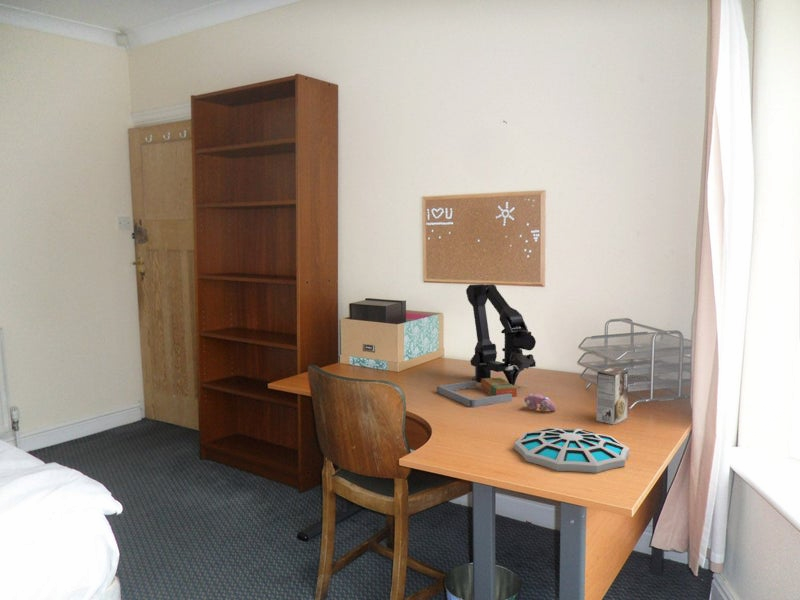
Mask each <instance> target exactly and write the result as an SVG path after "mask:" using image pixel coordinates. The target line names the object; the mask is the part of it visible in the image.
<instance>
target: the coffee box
mask: <svg viewBox="0 0 800 600" xmlns="http://www.w3.org/2000/svg"><path fill="white" fill-rule="evenodd" d="M596 378H597V382H596V383H597V384H596V386H597V387H596V421H597V422H601V423H604V422H605V424H610V425H613V426H614V425H616V424H618V423H621V422H622V421H625V420H627V419H628V400H629V399H628V396H629V395H628V392H629V370H628V369H623V368H618V367H614V366H613V367H612V366H609V367H607V368H604V369H602V370H598V371H597V377H596Z"/></svg>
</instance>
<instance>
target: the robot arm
mask: <svg viewBox="0 0 800 600" xmlns="http://www.w3.org/2000/svg"><path fill="white" fill-rule="evenodd" d="M465 293H466V297H467V301H468V302H469V304H470V305H471V306H472V309H473V316H474V324H475V332H476V339H477V340H476V341H477V343H476V345H475V347H474V354H473V356H472V357H471V359H470V366H472V367H474V368H475V369H474V375H475V377H471V380H472V381H476V382H479V383H481V379H483V378H492V377H491V376H492V375H491V374H492V373H491V372H495V373H496V372H497V373H500V372H503V374H504V375H505V378H506V381H507V382H508V383H510V384H512V385H513V386H515V383H516V381H517V379H518V376H519V375H520V373H521V372H522V371H524V369H529V368H534V367H536V364H537V363H536V360H535V358H534V355H533V354H531V353H530V354H523V350H525V351H532V350H533V349H534V348H535V346H536V344H537V343H536V338H535V337H534V336H533V335H532V332H531V331H530V330H529V329H528V326H527V324H526V322H525V320H524V318H523V315H522V314H521V313H520V311H518V310H517V309H515V308H513V307H511V306H510V305H509V304H508V302H507V301H506V300H505V298H504V297H503V296H502V294H501V293H500V292H499V290H498V288H497V286H496V285H495V284H493V283H492V284H490V283H489V284H488V283H487V284H484V283H479V284H478V283H477V284H469V285H468V286H467V288H466V290H465ZM487 301H489V302H490V304H491V305H492V306H493V308H494V309H495V310H496V312H497V313H498V315H499V322H500V324H501V326H502V327H503V329H502V330H501V334H503V335H504V347H503V348H502V352H504V354H503V355H504V358H502V362H501V361H499V360H497V357H498V356H497V355H498V351H497V345H496V344H495V343H493V342H492V341H491V340H490V338H491V337H490V331H489V324H488V316H487V311H486V308H487V307H486V303H487Z"/></svg>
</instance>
